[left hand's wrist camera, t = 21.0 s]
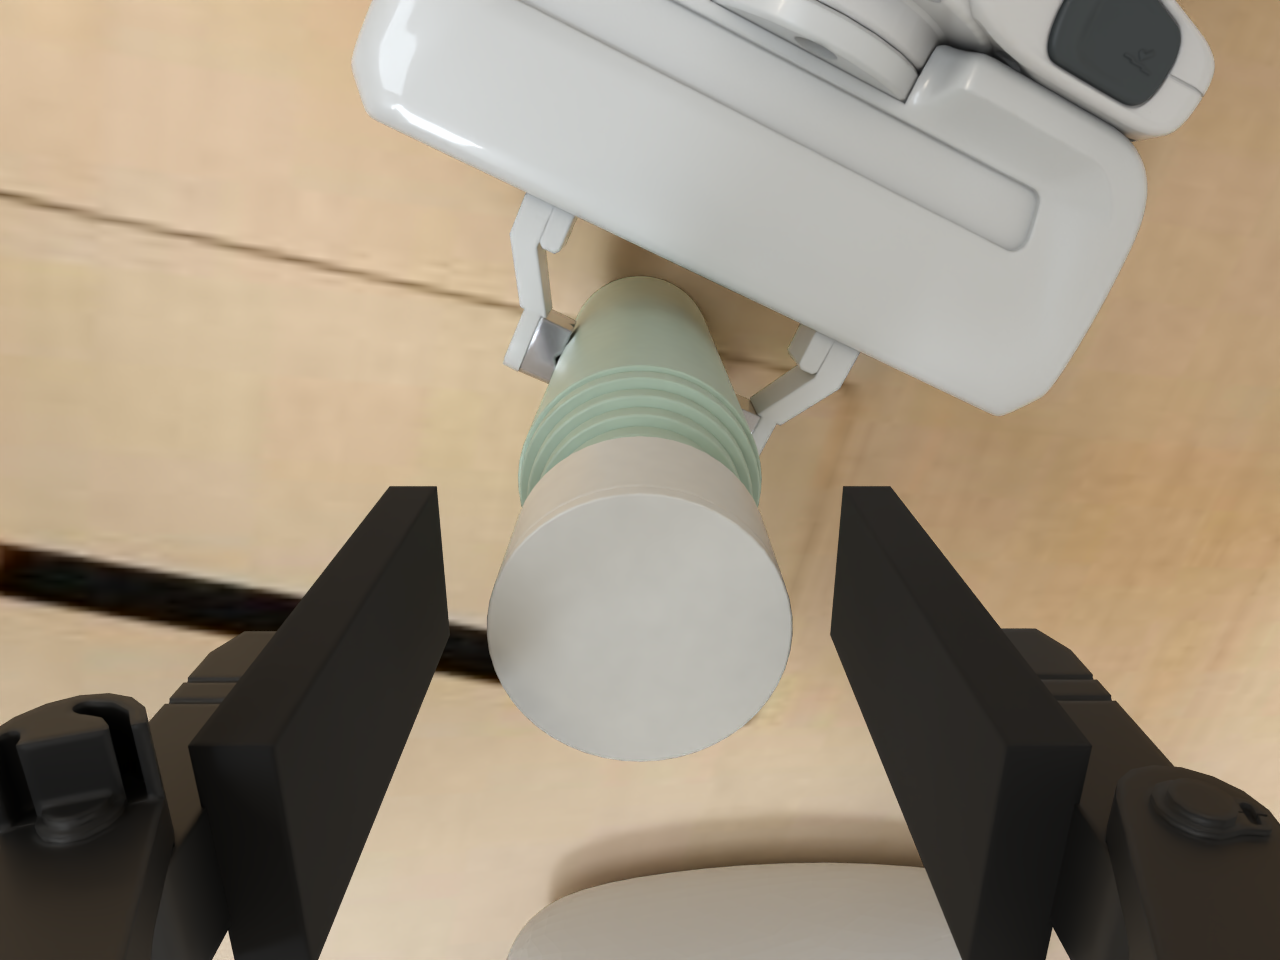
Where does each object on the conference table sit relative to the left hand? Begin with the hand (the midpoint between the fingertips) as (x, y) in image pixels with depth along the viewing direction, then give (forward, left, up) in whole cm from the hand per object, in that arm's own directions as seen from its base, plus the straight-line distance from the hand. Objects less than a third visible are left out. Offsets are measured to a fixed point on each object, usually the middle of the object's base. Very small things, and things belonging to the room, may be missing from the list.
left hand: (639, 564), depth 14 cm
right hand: (-1, 0, -12) cm, 12 cm away
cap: (0, 0, +2) cm, 2 cm away
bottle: (0, 0, -18) cm, 18 cm away
